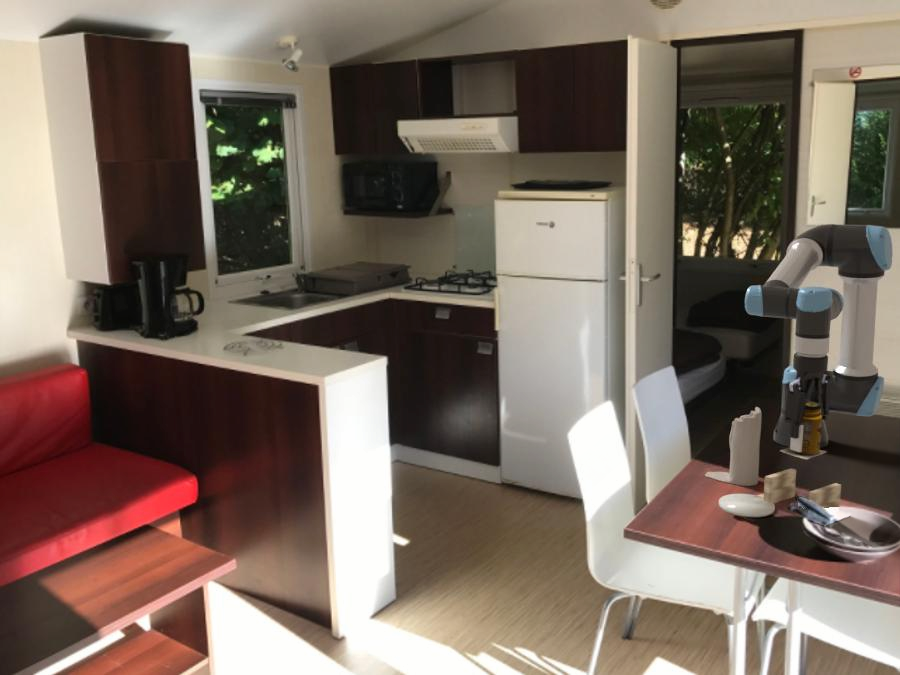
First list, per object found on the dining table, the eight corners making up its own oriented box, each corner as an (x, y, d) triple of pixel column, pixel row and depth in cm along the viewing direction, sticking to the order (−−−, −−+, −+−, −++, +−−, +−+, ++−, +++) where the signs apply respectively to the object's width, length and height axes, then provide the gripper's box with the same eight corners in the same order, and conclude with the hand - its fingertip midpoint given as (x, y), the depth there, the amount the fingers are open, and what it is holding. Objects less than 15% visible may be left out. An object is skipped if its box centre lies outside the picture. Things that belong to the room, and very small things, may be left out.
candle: (709, 469, 248) (713, 398, 244) (761, 479, 240) (765, 406, 236) (700, 477, 243) (703, 405, 238) (752, 488, 235) (757, 413, 231)
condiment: (827, 452, 218) (830, 404, 215) (806, 460, 213) (809, 410, 210) (800, 444, 223) (803, 397, 221) (779, 452, 218) (782, 403, 216)
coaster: (742, 492, 232) (742, 489, 231) (786, 509, 221) (786, 506, 221) (707, 504, 225) (707, 501, 225) (750, 521, 214) (750, 518, 214)
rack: (779, 491, 232) (781, 464, 231) (850, 516, 216) (852, 488, 214) (753, 499, 227) (754, 472, 226) (824, 526, 211) (826, 497, 209)
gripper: (822, 345, 222) (816, 436, 227) (771, 356, 212) (765, 451, 217) (850, 350, 216) (843, 444, 220) (798, 362, 206) (792, 460, 210)
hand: (804, 447), depth 218 cm, fingers closed on condiment, 6 cm apart
